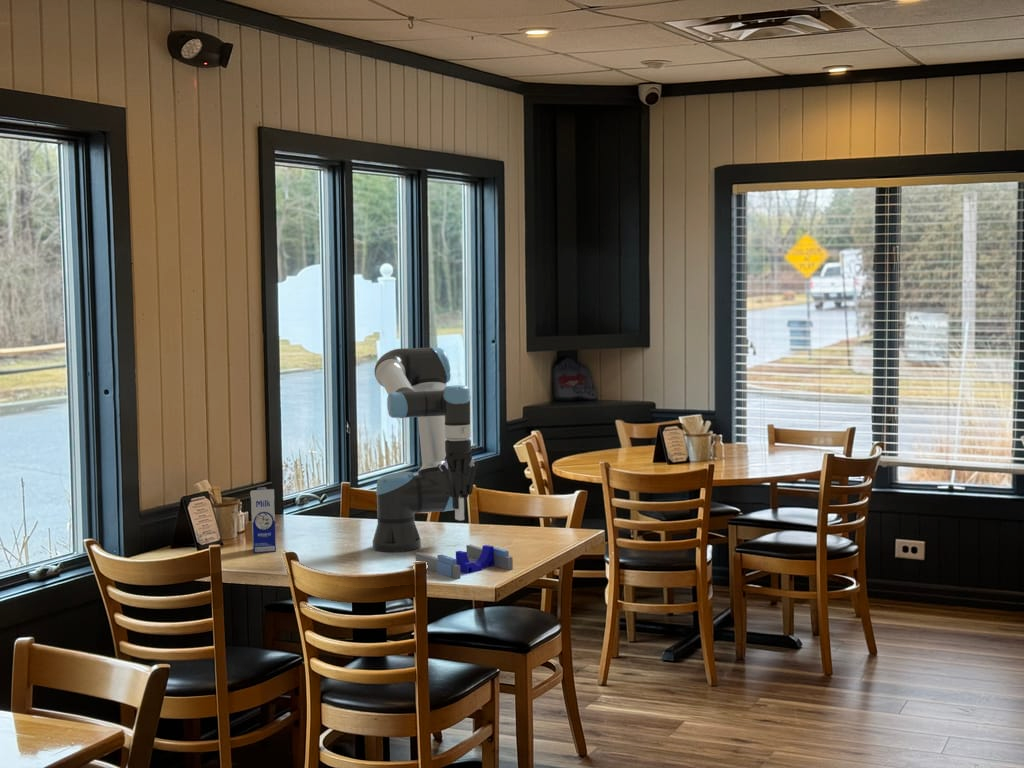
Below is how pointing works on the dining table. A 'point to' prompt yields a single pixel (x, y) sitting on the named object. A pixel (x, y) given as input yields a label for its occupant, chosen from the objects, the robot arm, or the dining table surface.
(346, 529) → the dining table surface
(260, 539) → the milk carton
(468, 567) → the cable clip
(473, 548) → the blue grey block group
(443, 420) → the robot arm
